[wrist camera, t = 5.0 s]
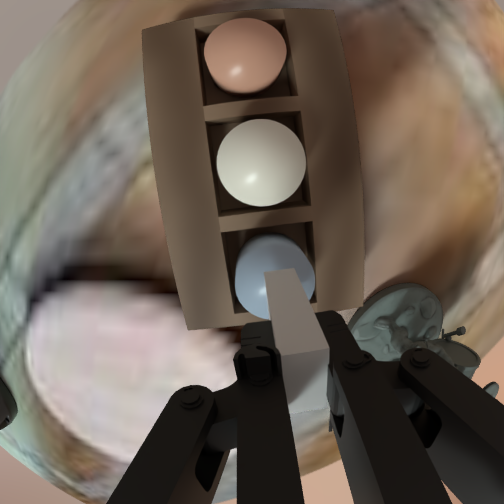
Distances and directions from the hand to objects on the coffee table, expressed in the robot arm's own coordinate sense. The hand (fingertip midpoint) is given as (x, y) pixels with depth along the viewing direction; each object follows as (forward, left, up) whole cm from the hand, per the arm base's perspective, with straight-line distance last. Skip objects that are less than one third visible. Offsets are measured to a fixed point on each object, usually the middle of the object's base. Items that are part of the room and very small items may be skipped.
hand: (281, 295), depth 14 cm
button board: (0, +6, -7) cm, 9 cm away
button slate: (0, 0, -4) cm, 4 cm away
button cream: (0, +7, -4) cm, 8 cm away
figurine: (+11, -10, -7) cm, 16 cm away
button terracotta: (0, +13, -5) cm, 14 cm away
